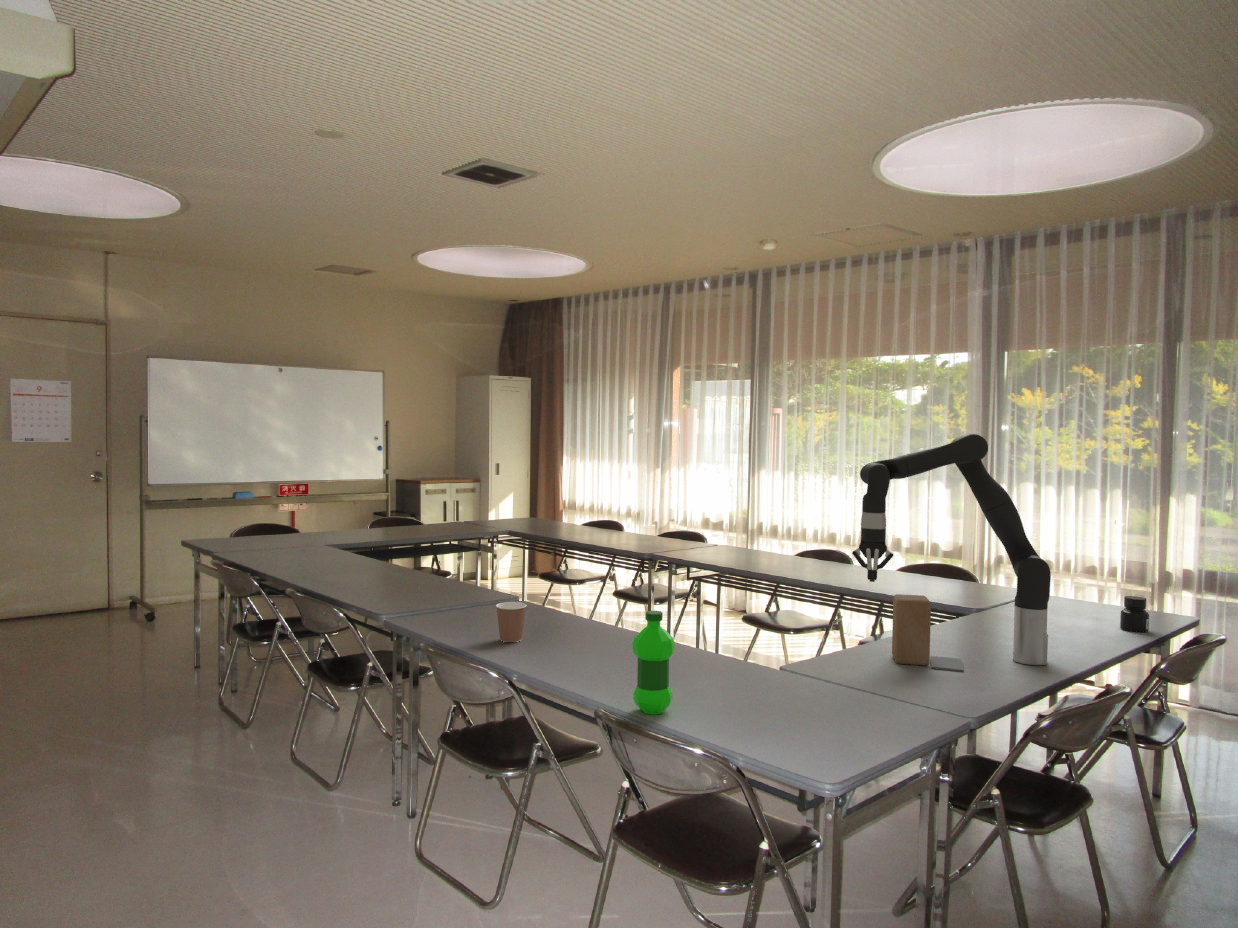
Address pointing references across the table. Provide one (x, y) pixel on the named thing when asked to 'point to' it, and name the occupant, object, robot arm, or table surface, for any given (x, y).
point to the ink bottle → (1134, 615)
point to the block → (911, 629)
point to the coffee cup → (511, 620)
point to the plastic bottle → (653, 665)
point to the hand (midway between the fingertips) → (872, 581)
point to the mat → (946, 663)
